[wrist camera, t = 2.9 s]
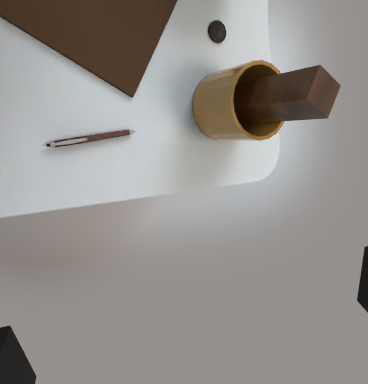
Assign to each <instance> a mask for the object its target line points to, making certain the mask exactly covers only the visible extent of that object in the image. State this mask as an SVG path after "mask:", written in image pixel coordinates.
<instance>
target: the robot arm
mask: <svg viewBox="0 0 368 384" xmlns="http://www.w3.org/2000/svg"><path fill="white" fill-rule="evenodd" d="M357 301H358V302H359V303H360V304H361V305H362V307H363V308H364V309H365V310H366V311H367V312H368V246H367V247H365V250H364V256H363V263H362V270H361V277H360V284H359V291H358V298H357ZM35 380H36V375H35V373H34V371H33V369H32V367H31V365H30V363H29V361H28V359H27V357H26V355H25V353H24V351H23V350H22V348H21V346H20V344H19V342H18V340H17V338H16V336H15V334H14V332H13V331H12V328H11V327H10V326H6V327H1V328H0V384H35Z"/></svg>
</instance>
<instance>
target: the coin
mask: <svg viewBox="0 0 368 384" xmlns="http://www.w3.org/2000/svg"><path fill="white" fill-rule="evenodd" d="M209 35H210V37H211V39H212V40H213V41H214V42H217V43H220V42H222V41H223V40H224V39H225V37H226V29H225V26H224V24H223V23H222V22H220V21H218V20H216V21H213V22H212V23H211V24H210V26H209Z"/></svg>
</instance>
